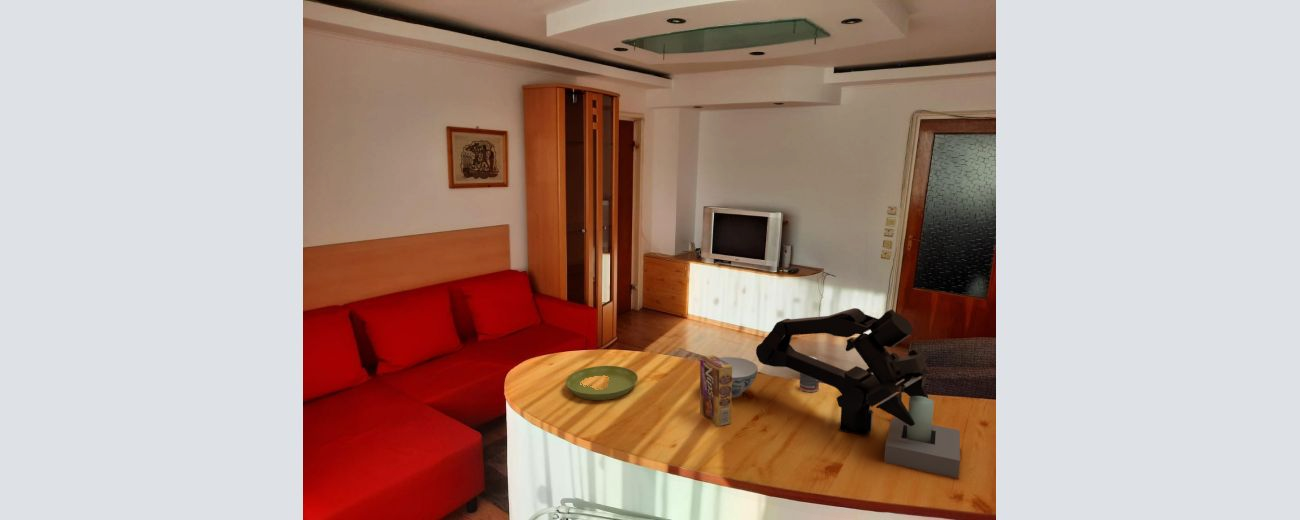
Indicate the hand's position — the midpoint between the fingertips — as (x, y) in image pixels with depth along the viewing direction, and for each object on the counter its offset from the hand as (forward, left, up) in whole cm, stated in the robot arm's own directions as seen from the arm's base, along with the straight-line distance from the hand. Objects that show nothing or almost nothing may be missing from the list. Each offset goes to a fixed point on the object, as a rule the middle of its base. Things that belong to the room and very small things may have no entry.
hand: (922, 418), depth 123 cm
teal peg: (-1, 0, -8) cm, 8 cm away
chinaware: (-49, +11, -8) cm, 50 cm away
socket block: (0, -1, -8) cm, 8 cm away
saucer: (-83, -2, -9) cm, 83 cm away
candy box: (-47, -5, -8) cm, 47 cm away
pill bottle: (-30, +23, -8) cm, 38 cm away
